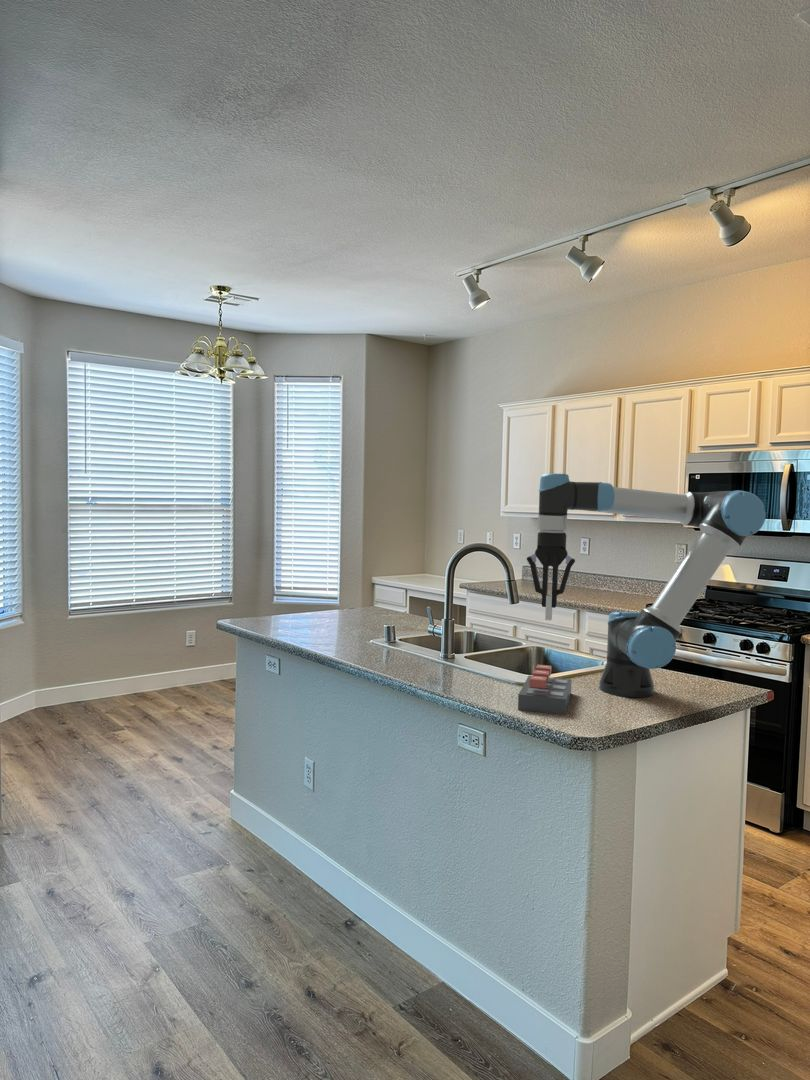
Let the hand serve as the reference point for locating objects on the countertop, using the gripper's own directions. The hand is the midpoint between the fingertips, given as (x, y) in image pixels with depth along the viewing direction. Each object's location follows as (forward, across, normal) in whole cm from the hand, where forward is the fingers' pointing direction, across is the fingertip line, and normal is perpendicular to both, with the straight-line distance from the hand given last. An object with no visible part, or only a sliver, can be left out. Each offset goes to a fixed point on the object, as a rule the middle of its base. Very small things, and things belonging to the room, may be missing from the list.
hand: (548, 619), depth 200 cm
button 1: (+17, +1, -7) cm, 18 cm away
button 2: (+17, +1, 0) cm, 17 cm away
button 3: (+17, +1, +7) cm, 18 cm away
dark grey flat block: (+22, 0, -1) cm, 22 cm away
